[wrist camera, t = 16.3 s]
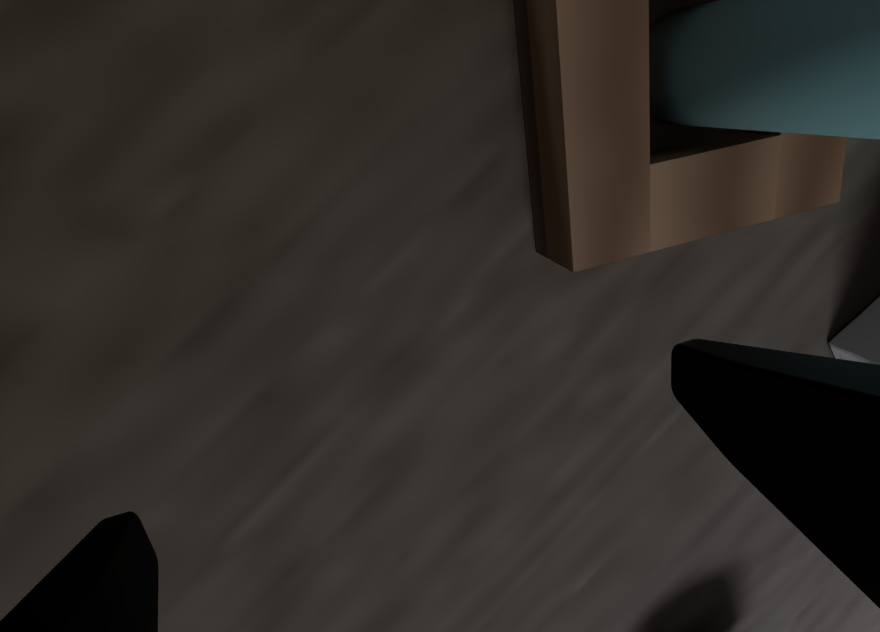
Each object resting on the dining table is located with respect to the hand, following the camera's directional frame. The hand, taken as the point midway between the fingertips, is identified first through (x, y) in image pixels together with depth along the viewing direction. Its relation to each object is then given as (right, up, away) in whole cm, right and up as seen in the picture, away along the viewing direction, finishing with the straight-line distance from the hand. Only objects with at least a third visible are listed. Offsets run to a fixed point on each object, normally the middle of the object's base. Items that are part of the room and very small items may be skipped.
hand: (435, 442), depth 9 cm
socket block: (+9, +12, +13) cm, 20 cm away
